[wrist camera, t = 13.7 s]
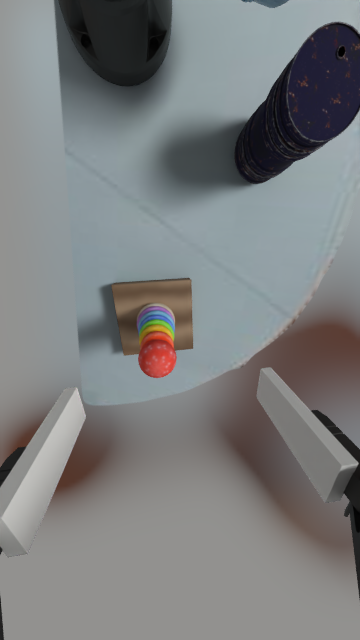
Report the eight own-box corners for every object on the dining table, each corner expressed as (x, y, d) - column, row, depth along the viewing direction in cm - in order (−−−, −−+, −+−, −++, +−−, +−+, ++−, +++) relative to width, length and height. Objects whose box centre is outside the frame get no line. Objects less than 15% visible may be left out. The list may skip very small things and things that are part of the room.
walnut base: (114, 282, 40) (111, 285, 37) (188, 277, 41) (191, 279, 38) (125, 349, 45) (123, 355, 43) (190, 342, 47) (193, 348, 44)
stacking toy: (170, 338, 42) (178, 400, 25) (134, 332, 41) (117, 393, 23) (178, 306, 40) (194, 348, 22) (141, 298, 38) (126, 337, 21)
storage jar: (271, 191, 37) (340, 156, 23) (226, 174, 35) (271, 124, 21) (294, 130, 34) (388, 46, 20) (245, 107, 32) (312, -2, 18)
